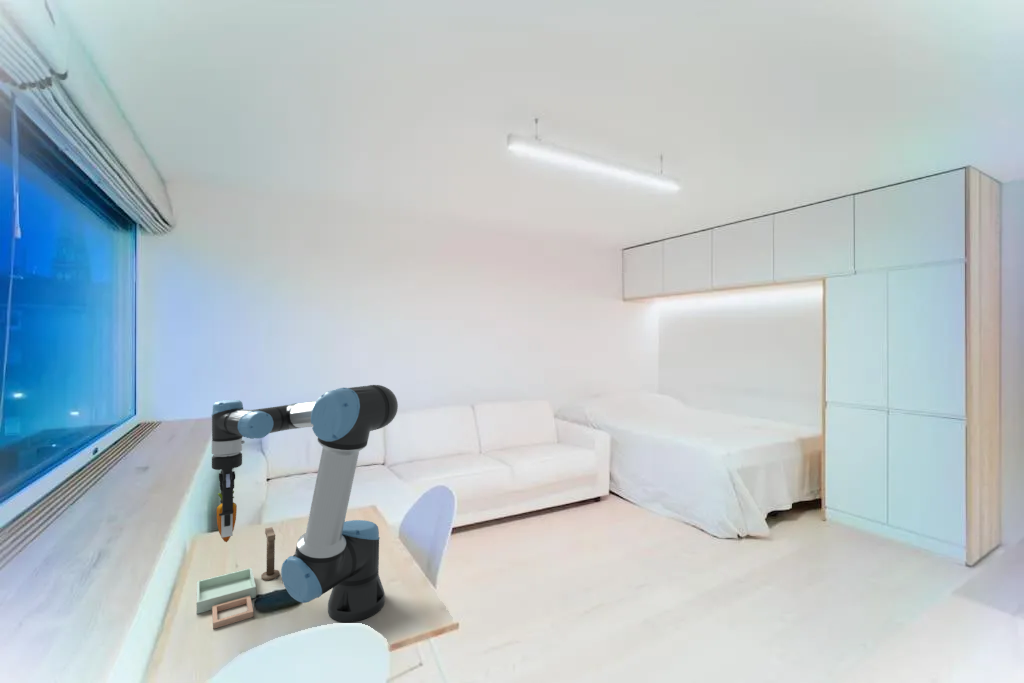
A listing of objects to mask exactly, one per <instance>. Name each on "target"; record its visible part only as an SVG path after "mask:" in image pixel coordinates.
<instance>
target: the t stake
mask: <svg viewBox="0 0 1024 683" xmlns="http://www.w3.org/2000/svg"><path fill="white" fill-rule="evenodd" d="M264 534H265V536H266V537H265V538H266V570H265V571H264V572H263V573H262V574H261V576H260V577H261V580H262V581H265V582H266V581H273V580H275V579H277V578H279V576H280V570H278V569H275V551H276V550H275V548H276V547H275V546H276V545H275V543H276V542H275V541H276V533H275V531H274V528H273V526H271V527H266V528H264Z"/></svg>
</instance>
